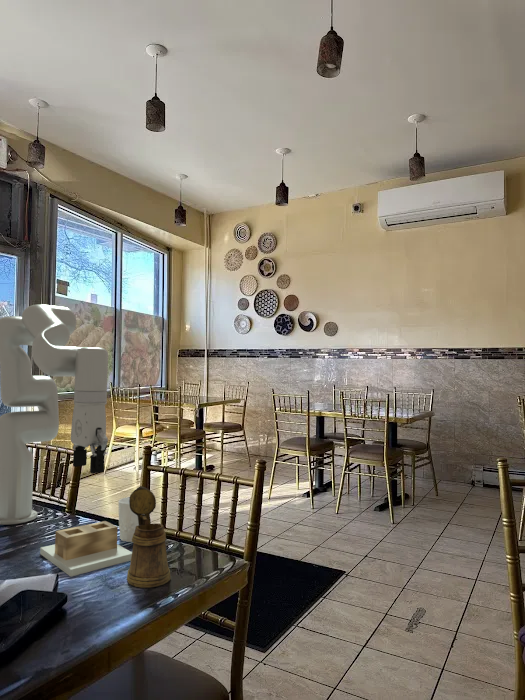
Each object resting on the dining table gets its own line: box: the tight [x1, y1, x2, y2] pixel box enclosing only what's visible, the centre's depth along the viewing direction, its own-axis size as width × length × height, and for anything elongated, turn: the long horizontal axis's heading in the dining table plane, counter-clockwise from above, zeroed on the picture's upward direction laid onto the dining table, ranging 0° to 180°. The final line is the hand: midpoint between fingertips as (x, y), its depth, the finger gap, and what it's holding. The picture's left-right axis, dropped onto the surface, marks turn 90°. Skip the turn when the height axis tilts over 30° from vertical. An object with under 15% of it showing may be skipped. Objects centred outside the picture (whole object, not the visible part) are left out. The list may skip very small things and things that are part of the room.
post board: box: [39, 543, 132, 578], centre depth 120 cm, size 18×15×6 cm
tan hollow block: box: [54, 520, 119, 560], centre depth 120 cm, size 12×6×5 cm, turn 133°
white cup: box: [117, 496, 145, 543], centre depth 134 cm, size 8×8×10 cm
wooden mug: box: [126, 485, 172, 589], centre depth 110 cm, size 9×14×18 cm, turn 27°
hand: (88, 469), depth 121 cm, fingers open, 9 cm apart
